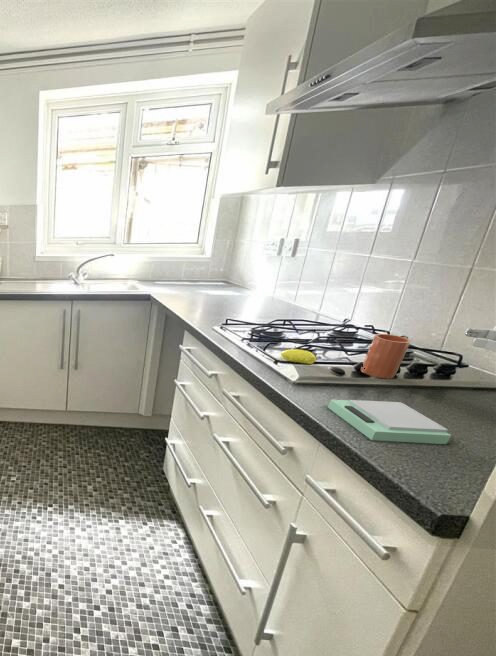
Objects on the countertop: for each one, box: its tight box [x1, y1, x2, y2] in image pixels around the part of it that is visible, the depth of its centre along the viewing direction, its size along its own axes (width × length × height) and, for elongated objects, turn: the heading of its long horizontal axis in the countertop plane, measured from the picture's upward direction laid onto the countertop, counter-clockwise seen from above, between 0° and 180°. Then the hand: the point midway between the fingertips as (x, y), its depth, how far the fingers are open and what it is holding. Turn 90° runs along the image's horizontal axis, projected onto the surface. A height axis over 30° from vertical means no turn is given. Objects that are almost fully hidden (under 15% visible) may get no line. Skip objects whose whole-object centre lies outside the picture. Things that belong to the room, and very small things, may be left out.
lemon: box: [280, 348, 317, 365], centre depth 114 cm, size 4×8×4 cm, turn 58°
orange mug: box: [360, 333, 412, 380], centre depth 105 cm, size 7×7×10 cm
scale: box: [327, 399, 452, 445], centre depth 83 cm, size 13×13×3 cm
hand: (469, 336), depth 94 cm, fingers open, 8 cm apart
